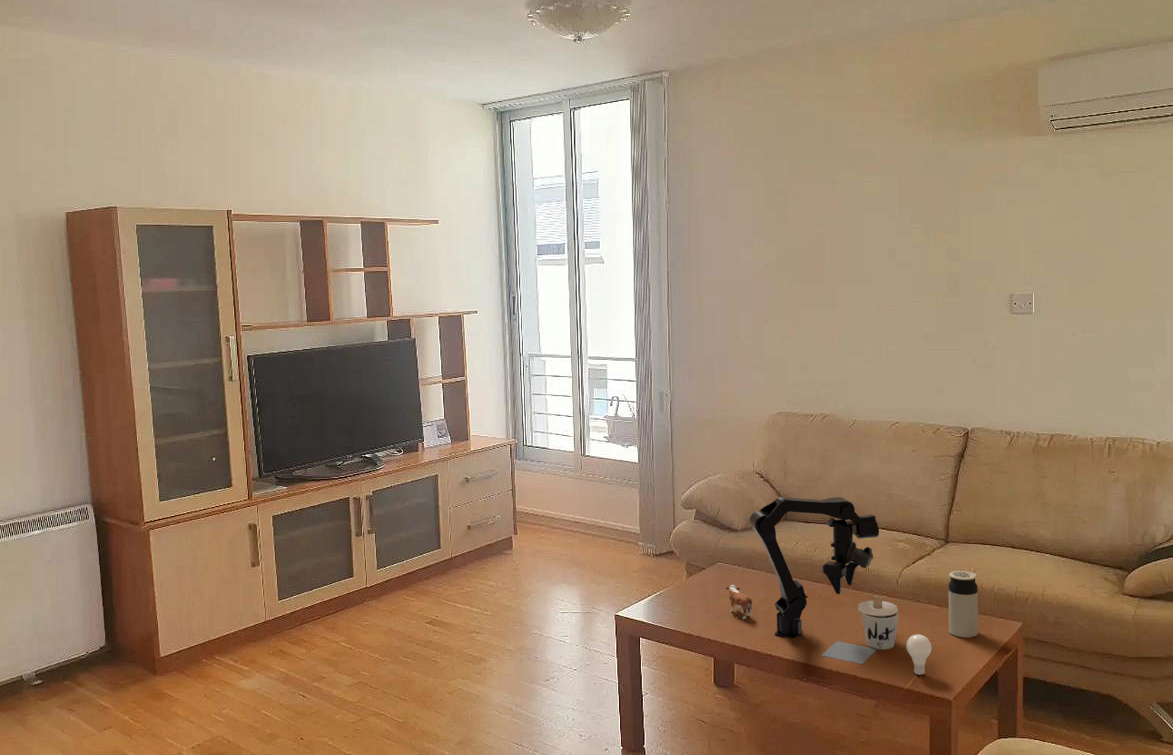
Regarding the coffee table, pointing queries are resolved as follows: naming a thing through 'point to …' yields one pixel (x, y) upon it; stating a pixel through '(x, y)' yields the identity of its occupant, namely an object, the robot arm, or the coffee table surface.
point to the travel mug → (963, 604)
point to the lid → (877, 607)
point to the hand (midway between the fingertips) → (844, 589)
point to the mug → (880, 630)
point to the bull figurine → (740, 600)
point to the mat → (849, 652)
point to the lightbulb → (919, 651)
